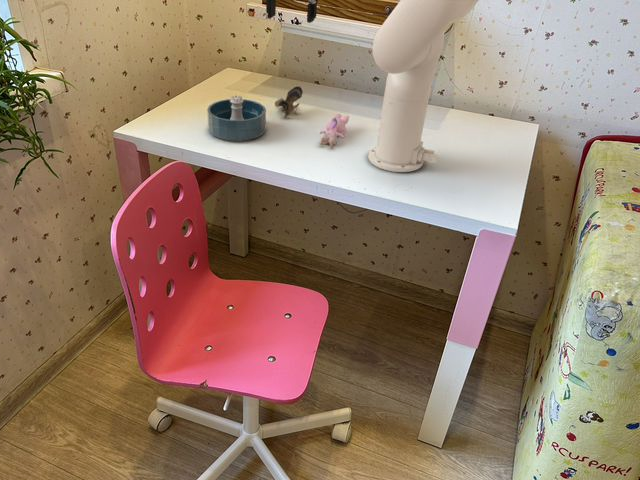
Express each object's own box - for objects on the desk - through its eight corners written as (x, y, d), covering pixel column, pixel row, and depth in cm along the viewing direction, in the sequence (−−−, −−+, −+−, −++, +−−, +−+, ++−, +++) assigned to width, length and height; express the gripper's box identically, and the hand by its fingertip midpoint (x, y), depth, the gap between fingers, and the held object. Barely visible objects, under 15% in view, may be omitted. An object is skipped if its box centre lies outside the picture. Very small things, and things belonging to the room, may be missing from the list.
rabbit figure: (338, 155, 133) (355, 123, 143) (339, 133, 129) (356, 102, 139) (313, 150, 135) (331, 119, 145) (313, 128, 131) (332, 98, 140)
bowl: (274, 126, 143) (275, 105, 139) (250, 147, 132) (250, 125, 129) (225, 115, 147) (224, 95, 144) (198, 135, 137) (196, 114, 133)
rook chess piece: (249, 128, 139) (249, 97, 135) (236, 133, 137) (236, 101, 132) (237, 123, 142) (237, 92, 137) (224, 128, 139) (223, 96, 134)
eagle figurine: (307, 115, 146) (308, 97, 152) (293, 94, 142) (295, 76, 148) (282, 127, 149) (285, 109, 155) (267, 107, 145) (271, 89, 151)
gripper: (248, -69, 118) (249, 18, 128) (326, -64, 113) (321, 27, 123) (263, -72, 123) (263, 12, 133) (337, -67, 118) (331, 19, 128)
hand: (290, 19), depth 128 cm, fingers open, 9 cm apart
